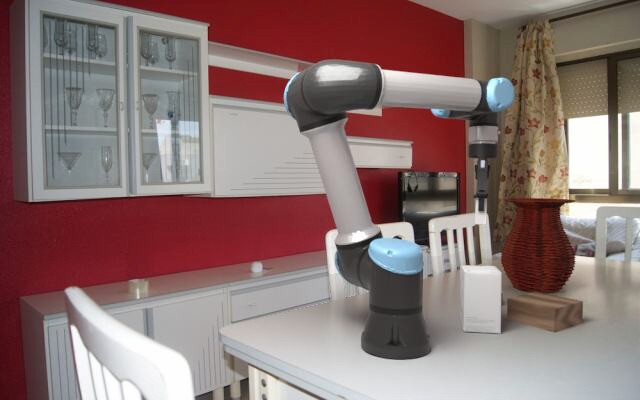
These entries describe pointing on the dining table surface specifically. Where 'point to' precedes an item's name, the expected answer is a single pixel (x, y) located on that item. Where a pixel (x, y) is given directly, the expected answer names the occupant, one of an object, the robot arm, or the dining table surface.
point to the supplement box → (480, 299)
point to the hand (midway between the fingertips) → (480, 222)
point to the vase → (538, 246)
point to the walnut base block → (545, 311)
